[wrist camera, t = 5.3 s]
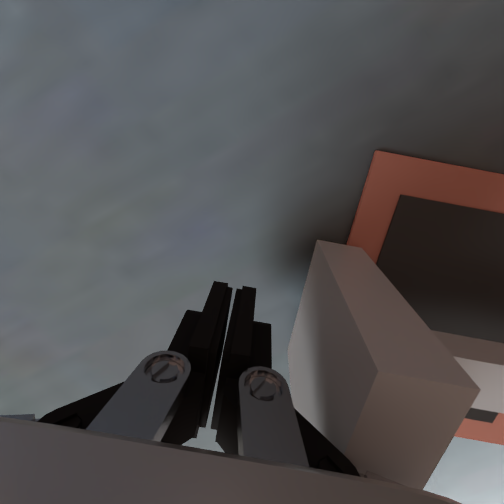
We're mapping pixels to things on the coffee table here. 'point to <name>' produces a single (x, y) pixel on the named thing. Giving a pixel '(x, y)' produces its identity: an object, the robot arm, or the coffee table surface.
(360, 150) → the coffee table surface
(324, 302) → the slider
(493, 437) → the frame
